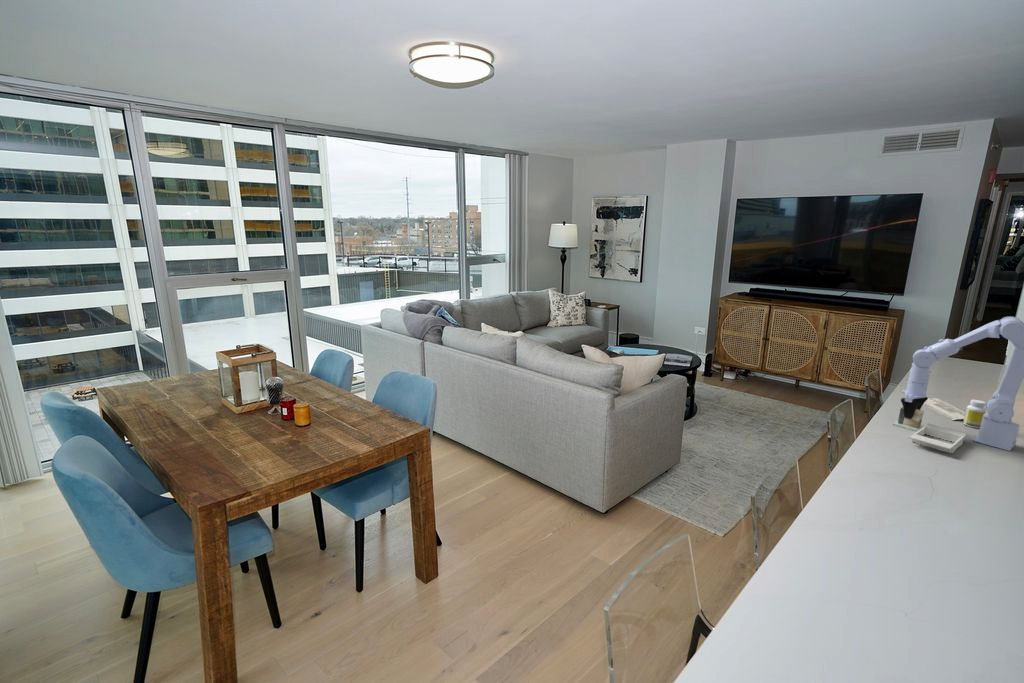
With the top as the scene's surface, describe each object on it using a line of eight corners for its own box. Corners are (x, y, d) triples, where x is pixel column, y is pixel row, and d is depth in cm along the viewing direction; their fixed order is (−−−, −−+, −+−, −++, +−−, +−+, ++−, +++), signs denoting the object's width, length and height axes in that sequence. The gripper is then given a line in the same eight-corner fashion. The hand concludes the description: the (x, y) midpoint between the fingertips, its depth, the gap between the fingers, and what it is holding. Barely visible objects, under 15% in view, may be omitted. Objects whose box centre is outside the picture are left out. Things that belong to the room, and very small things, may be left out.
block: (920, 425, 188) (923, 410, 186) (916, 428, 185) (920, 413, 184) (901, 420, 192) (904, 406, 191) (897, 423, 190) (900, 408, 189)
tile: (925, 427, 188) (925, 425, 188) (918, 431, 184) (919, 430, 184) (899, 420, 194) (899, 419, 194) (892, 424, 190) (893, 423, 190)
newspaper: (986, 423, 193) (987, 417, 193) (952, 425, 195) (952, 419, 194) (942, 402, 215) (943, 396, 215) (912, 403, 217) (912, 398, 216)
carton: (965, 441, 176) (967, 433, 175) (948, 456, 165) (950, 448, 164) (926, 430, 185) (928, 423, 184) (907, 445, 173) (909, 437, 173)
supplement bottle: (985, 429, 186) (991, 404, 184) (968, 427, 188) (974, 403, 185) (975, 423, 192) (981, 399, 189) (959, 422, 193) (964, 398, 190)
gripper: (911, 375, 192) (905, 408, 195) (898, 382, 184) (891, 417, 187) (934, 380, 187) (927, 414, 190) (921, 387, 178) (914, 423, 182)
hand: (910, 416), depth 188 cm, fingers open, 6 cm apart
